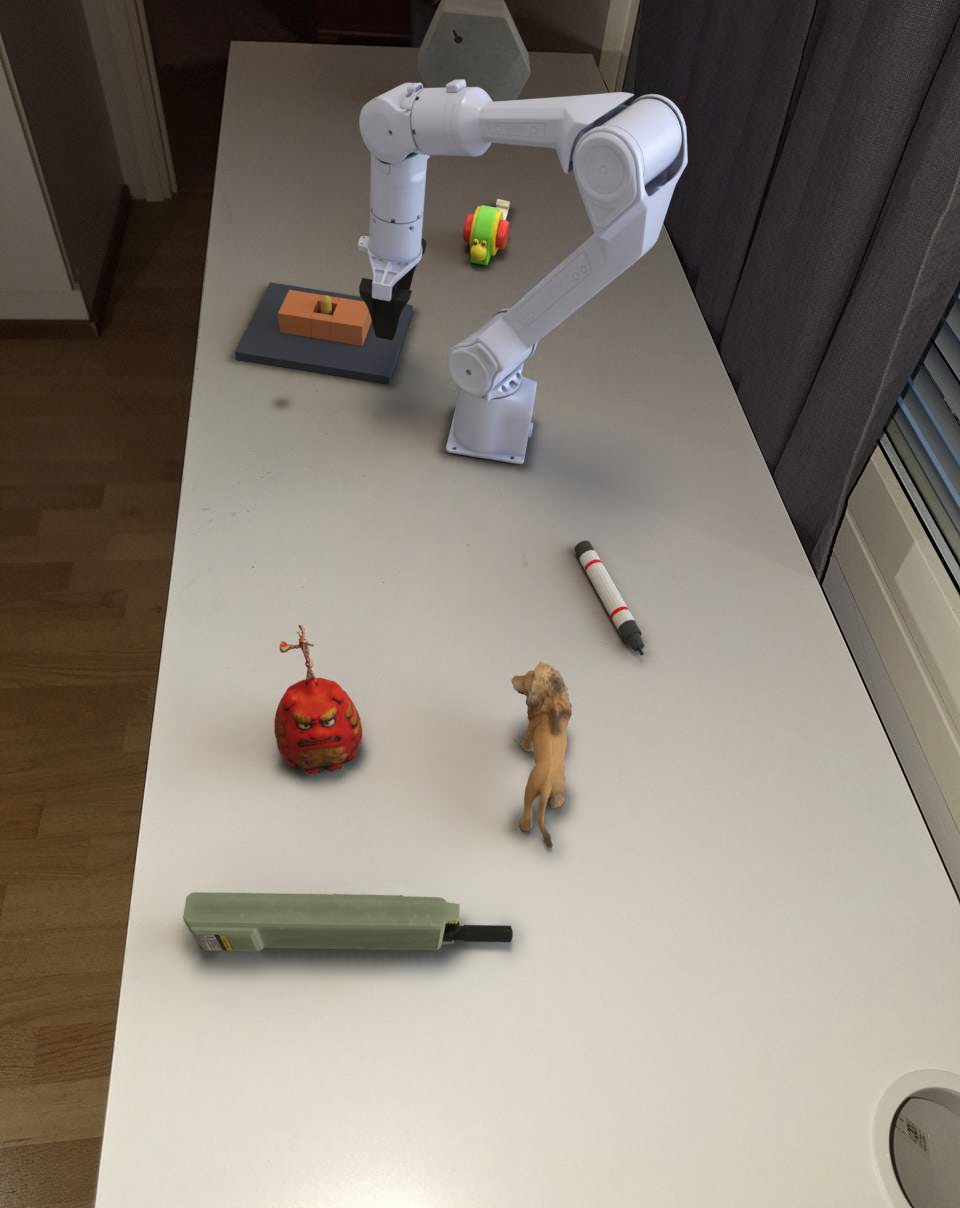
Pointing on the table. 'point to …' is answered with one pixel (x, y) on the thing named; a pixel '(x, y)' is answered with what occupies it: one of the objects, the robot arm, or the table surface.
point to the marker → (609, 595)
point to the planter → (475, 49)
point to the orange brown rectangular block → (324, 318)
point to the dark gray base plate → (318, 342)
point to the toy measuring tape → (487, 231)
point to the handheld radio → (329, 922)
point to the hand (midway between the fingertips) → (391, 317)
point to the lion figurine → (544, 740)
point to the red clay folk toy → (316, 721)
